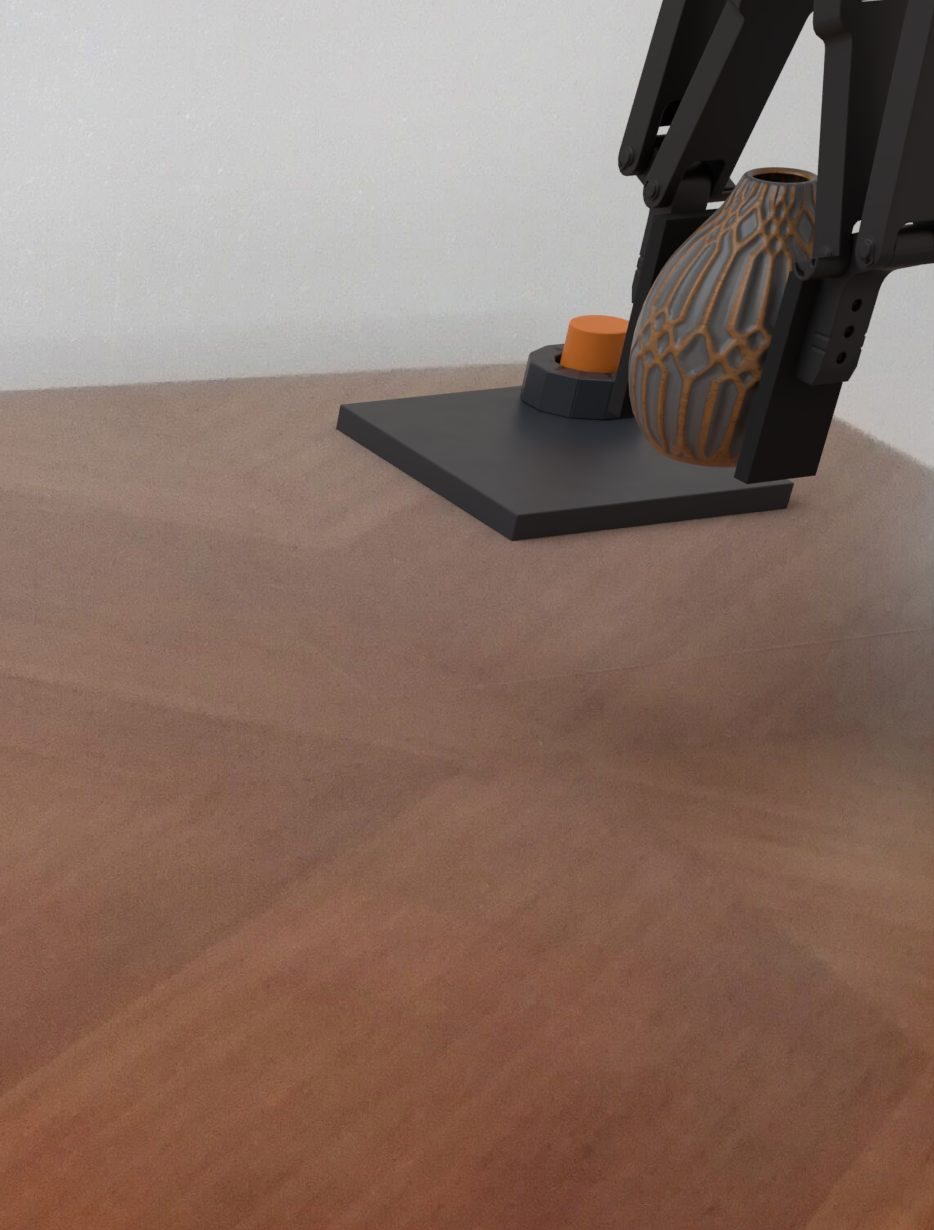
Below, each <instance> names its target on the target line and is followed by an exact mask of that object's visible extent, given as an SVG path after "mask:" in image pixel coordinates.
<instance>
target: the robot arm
mask: <svg viewBox="0 0 934 1230" xmlns="http://www.w3.org/2000/svg"><path fill="white" fill-rule="evenodd" d="M811 15H812V29H813V32H814V34H815V35H816V36H817V37H818V38H819V39H820V40H821V41H822V42H823V44H824V55H823V56H824V57H823V58H824V59H823V74H822V75H823V76H822V89H821V90H822V91H821V92H822V93H821V107H820V108H821V109H820V124H819V125H820V126H819V143H818V157H817V158H818V160H817V174H816V175H817V191H816V208H815V225H814V242H813V258H812V259H809V260H804V261H799V262H794V263H792V268H793V271H789V275H788V279H787V282H786V286H785V290H784V294H783V297H782V301H781V305H780V308H779V312H778V316H777V319H776V323H775V327H774V330H773V334H772V338H771V341H770V345H769V349H768V352H767V356H766V360H765V364H764V367H763V371H762V375H761V378H760V382H759V386H758V389H757V393H756V397H755V400H754V404H753V408H752V411H751V415H750V419H749V423H748V426H747V430H746V434H745V437H744V441H743V445H742V448H741V452H740V456H739V459H738V463H737V467H736V470H735V474H734V478H736V479H738V480H740V481H742V482H743V483H745V484H753V483H761V482H769V481H777V480H785V479H787V480H792V479H799V478H809V477H816V476H817V472H818V468H819V467H820V462H821V458H822V455H823V452H824V447H825V445H826V443H827V439H828V435H829V431H830V428H831V425H832V421H833V418H834V414H835V411H836V407H837V404H838V402H839V397H840V394H841V390H842V388H843V383H846V382H849V381H850V379H851V378H852V376H853V375H854V373H855V371H856V369H857V367H858V364H859V360H860V358H861V354H862V350H863V349H862V348H863V346H864V344H865V342H866V341H865V340H866V337H867V336H866V334H867V333H868V330H869V327H870V324H871V320H872V317H873V314H874V310H875V307H876V303H877V300H878V296H879V293H880V290H881V287H882V284H883V283H884V281H885V279H886V278H887V277H888V276H889V275H890V274H891V273H892V272H894V271H897V270H901V269H906V268H912V267H918V266H924V265H932V264H934V0H662V1H661V4H660V8H659V11H658V15H657V18H656V22H655V25H654V29H653V33H652V36H651V39H650V42H649V46H648V48H647V49H648V50H647V53H646V56H645V60H644V64H643V67H642V70H641V73H640V78H639V80H638V85H637V89H636V91H635V95H634V98H633V102H632V106H631V109H630V111H629V116H628V119H627V122H626V127H625V130H624V133H623V137H622V140H621V144H620V147H619V150H618V155H617V166H618V170H619V173H620V174H621V175H622V176H625V177H634V176H635V177H636V178H637V179H638V180H639V182H640V183H641V184H642V185H643V187H642V199H643V203H644V205H645V207H646V208H648V215H647V220H646V224H645V228H644V233H643V237H642V241H641V244H640V245H641V246H640V250H639V254H638V255H639V257H637V262H636V269H635V270H634V275H633V279H632V280H633V281H632V284H631V304H632V307H631V311H630V315H629V319H628V321H629V323H628V328H627V332H626V336H625V340H624V345H623V349H622V353H621V357H620V362H619V366H618V370H617V374H616V379H615V383H614V387H613V391H612V396H611V400H610V404H609V408H608V411H609V412H611V413H612V414H614V415H616V416H618V417H626V416H634V414H633V412H632V406H631V401H630V396H629V383H628V374H629V359H630V352H631V346H632V341H633V336H634V331H635V328H636V324H637V320H638V317H639V315H640V312H641V309H642V307H643V304H644V302H645V300H646V297H647V295H648V293H649V291H650V289H651V287H652V285H653V283H654V282H655V280H656V278H657V276H658V275H659V273H660V271H661V270H662V268H663V267H664V265H665V264H666V263H667V261H668V260H669V258H670V257H671V256H672V255H673V254H674V252H675V251H676V250H677V249H678V248H679V247H680V246H681V245H682V244H683V243H684V242H685V241H686V240H687V239H688V238H689V237H690V236H691V235H692V234H693V233H694V232H695V231H696V230H697V229H698V228H699V227H700V226H701V225H702V224H703V223H704V222H705V221H706V220H707V219H708V218H709V217H710V216H711V215H712V214H713V213H714V212H715V211H716V210H717V209H718V208H719V207H718V208H708V204H711V203H721V202H725V200H726V199H727V198H728V197H729V195H730V194H731V192H732V191H733V189H734V188H735V186H736V185H737V184H735V182H734V181H733V180H732V179H731V176H732V174H733V172H734V170H735V168H736V166H737V164H738V162H739V160H740V157H741V156H742V154H743V151H744V149H745V148H746V145H747V143H748V141H749V139H750V137H751V135H752V133H753V131H754V129H755V127H756V125H757V123H758V121H759V119H760V117H761V115H762V112H763V111H764V108H765V106H766V104H767V102H768V100H769V98H770V96H771V94H772V92H773V90H774V88H775V86H776V84H777V82H778V80H779V78H780V76H781V73H783V70H784V67H785V66H786V64H787V62H788V59H789V57H790V55H791V53H792V51H793V49H794V47H795V45H796V43H797V41H798V39H799V37H800V35H801V32H802V31H803V29H804V26H805V24H806V22H807V20H808V19H809V17H810V16H811ZM661 127H668V130H667V132H666V133H664V134H658V133H659V129H660V128H661ZM707 208H708V209H707ZM858 222H860V223H859V228H858V232H857V231H856V232H853V231H854V227H855V225H857V223H858Z"/></svg>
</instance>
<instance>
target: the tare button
mask: <svg viewBox="0 0 934 1230" xmlns="http://www.w3.org/2000/svg"><path fill="white" fill-rule="evenodd" d="M628 323H629V319H628V320H627V319H625V318H622V317H618V316H613V315H604V314H587V315H579V316H576V317H573V318H571V319H570V320H569V322H568V325H567V326H568V327H567V332H566V336H565V339H564V343H563V344H564V348H563V352H562V357H561V361H560V365H562V366H564V367H567V368H571V369H576V370H580V371H584V372H597V373H613V372H617V370H618V366H619V362H620V357H621V353H622V349H623V345H624V340H625V336H626V332H627V328H628Z"/></svg>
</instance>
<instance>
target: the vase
mask: <svg viewBox="0 0 934 1230" xmlns="http://www.w3.org/2000/svg"><path fill="white" fill-rule="evenodd" d="M735 185H736V186H735V188H734V189H733V191H732V192H731V194H730V195H729V197H728V198H727V199H726V200H725V201H723V203H722V204H721V205H720V206H719V207H718V209H717V208H716V209H717V210H716V211H715V212H714V213H713V214H712V215H711V216H710V217H709V218H708V219H707V220H706V221H705V222H704V223H703V224H702V225H701V226H700V227H699V228H698V229H697V230H696V231H695V232H694V233H693V234H692V235H691V236H690V237H689V238H688V239H687V240H686V241H685V242H684V243H683V244H682V245H681V246H680V247H679V248H678V249H677V250H676V251H675V252H674V254H673V255H672V256H671V257H670V258H669V260H668V261H667V263H666V264H665V265H664V267H663V268H662V270H661V271H660V273H659V275H658V276H657V278H656V280H655V282H654V283H653V285H652V287H651V289H650V291H649V293H648V295H647V297H646V300H645V302H644V304H643V307H642V309H641V312H640V315H639V317H638V320H637V324H636V328H635V331H634V336H633V341H632V346H631V352H630V359H629V374H628V383H629V396H630V401H631V406H632V412H633V414H634V416H635V419H636V421H637V424H638V426H639V428H640V429H641V431H642V433H643V434H644V436H645V437H646V439H647V440H648V442H649V443H650V445H651V446H652V447H653V448H654V450H656V451H657V452H658V453H660V454H661V455H663V456H665V457H667V458H670V459H673V460H676V461H679V462H683V463H688V464H693V465H699V466H708V467H737V463H738V459H739V456H740V452H741V448H742V445H743V441H744V437H745V434H746V430H747V426H748V423H749V419H750V415H751V411H752V408H753V404H754V400H755V397H756V393H757V389H758V386H759V382H760V378H761V375H762V371H763V367H764V364H765V360H766V356H767V352H768V349H769V345H770V341H771V338H772V334H773V330H774V327H775V323H776V319H777V316H778V312H779V308H780V305H781V301H782V297H783V294H784V290H785V286H786V282H787V279H788V275H789V271H793V268H792V263H794V262H799V261H804V260H809V259H812V258H813V242H814V225H815V208H816V191H817V174H816V173H814V172H812V171H809V170H805V169H800V168H793V167H784V166H765V167H757V168H752V169H750V170H747V171H745V172H744V173H743V174H742V175H741V177H740V179H739V180H738V182H737V183H736V184H735Z"/></svg>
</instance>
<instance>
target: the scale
mask: <svg viewBox="0 0 934 1230" xmlns="http://www.w3.org/2000/svg"><path fill="white" fill-rule="evenodd" d="M564 344H565V343H557V344H547V345H544V346H542V347H539V348H537V349H534V350H532V351H531V352H530V353H529V354H528V357H527V362H526V367H525V371H524V374H523V375H524V376H523V379H522V385H516V386H514V385H513V386H506V387H496V388H485V389H478V390H467V391H457V392H449V393H439V394H429V395H428V394H427V395H420V396H419V395H418V396H411V397H410V396H409V397H400V398H389V399H382V400H371V401H361V402H354V403H353V402H352V403H342V404H340V405H339V411H338V416H337V421H336V427H335V430H337V431H338V432H340V433H342V434H343V435H344V436H346V437H348V438H350V439H351V440H353V441H354V442H356V443H357V444H359V445H360V446H362V447H364V448H365V449H366V450H368V451H370V452H372V454H374V455H376V456H377V457H379V458H380V459H382V460H384V461H385V462H387V463H389V464H390V465H392V466H393V467H395V468H397V469H398V470H399V471H401V472H402V473H404V474H406V475H407V476H409V477H410V478H412V479H413V480H415V481H416V482H418V483H420V484H422V485H423V486H425V487H426V488H428V489H430V490H431V491H432V492H434V493H435V494H437V495H438V496H440V497H441V498H443V499H445V500H446V501H448V502H449V503H451V504H453V505H454V506H456V507H457V508H459V509H461V510H462V511H464V512H465V513H467V514H469V516H471V517H473V518H475V519H476V520H477V521H479V522H481V523H482V524H484V525H486V526H487V527H489V529H492V530H493V531H495V532H496V533H498V534H499V535H501V536H503V537H504V538H506V539H507V540H509V541H510V542H515V541H524V540H532V539H543V538H549V537H557V536H559V537H560V536H566V535H575V534H584V533H585V534H586V533H593V532H600V531H610V530H616V529H624V528H626V529H627V528H635V527H642V526H643V527H644V526H652V525H660V524H661V525H662V524H669V523H676V522H685V521H693V520H701V519H702V520H703V519H709V518H710V519H711V518H718V517H727V516H735V515H736V516H737V515H743V514H745V515H746V514H753V513H754V514H755V513H761V512H770V511H778V510H786V509H788V506H789V502H790V499H791V496H792V492H793V489H794V486H795V482H793V481H791V480H790V479H785V480H777V481H769V482H761V483H753V484H745V483H743V482H742V481H740V480H738V479H736V478H734V474H735V470H736V467H708V466H699V465H693V464H688V463H683V462H679V461H676V460H673V459H670V458H667V457H665V456H663V455H661V454H660V453H658V452H657V451H656V450H654V448H653V447H652V446H651V445H650V443H649V442H648V440H647V439H646V437H645V436H644V434H643V433H642V431H641V429H640V428H639V426H638V424H637V421H636V419H635V416H626V417H618V416H616V415H614V414H612V413H611V412H609V411H608V408H609V404H610V400H611V396H612V391H613V387H614V383H615V379H616V374H617V372H613V373H597V372H584V371H580V370H576V369H571V368H567V367H564V366H562V365H560V361H561V357H562V352H563V348H564Z"/></svg>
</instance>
